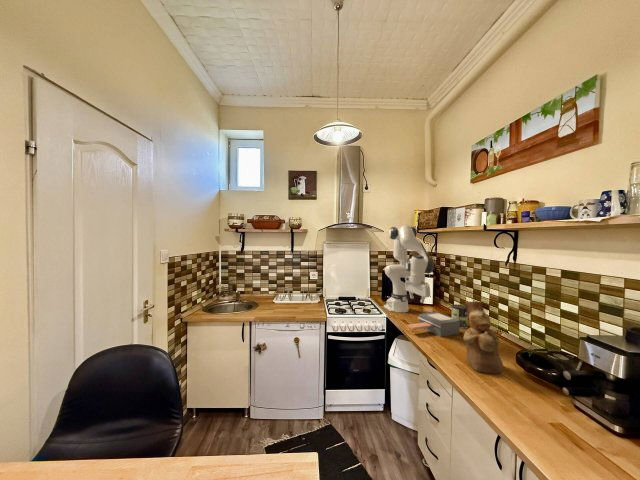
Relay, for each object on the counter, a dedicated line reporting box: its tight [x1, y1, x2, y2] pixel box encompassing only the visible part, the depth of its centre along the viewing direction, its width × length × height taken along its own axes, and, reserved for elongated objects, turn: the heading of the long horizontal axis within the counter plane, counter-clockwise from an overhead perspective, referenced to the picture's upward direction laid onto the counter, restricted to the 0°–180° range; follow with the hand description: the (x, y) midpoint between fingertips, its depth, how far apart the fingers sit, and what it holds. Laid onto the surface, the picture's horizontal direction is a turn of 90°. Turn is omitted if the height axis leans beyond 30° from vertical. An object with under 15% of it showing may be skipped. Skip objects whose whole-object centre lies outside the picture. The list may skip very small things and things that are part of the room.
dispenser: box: [417, 311, 461, 338], centre depth 168 cm, size 19×17×9 cm
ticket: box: [406, 322, 433, 330], centre depth 164 cm, size 6×20×1 cm, turn 110°
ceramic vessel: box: [463, 301, 504, 374], centre depth 124 cm, size 16×22×30 cm
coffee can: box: [450, 303, 469, 330], centre depth 176 cm, size 10×10×14 cm
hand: (416, 300), depth 165 cm, fingers open, 8 cm apart
